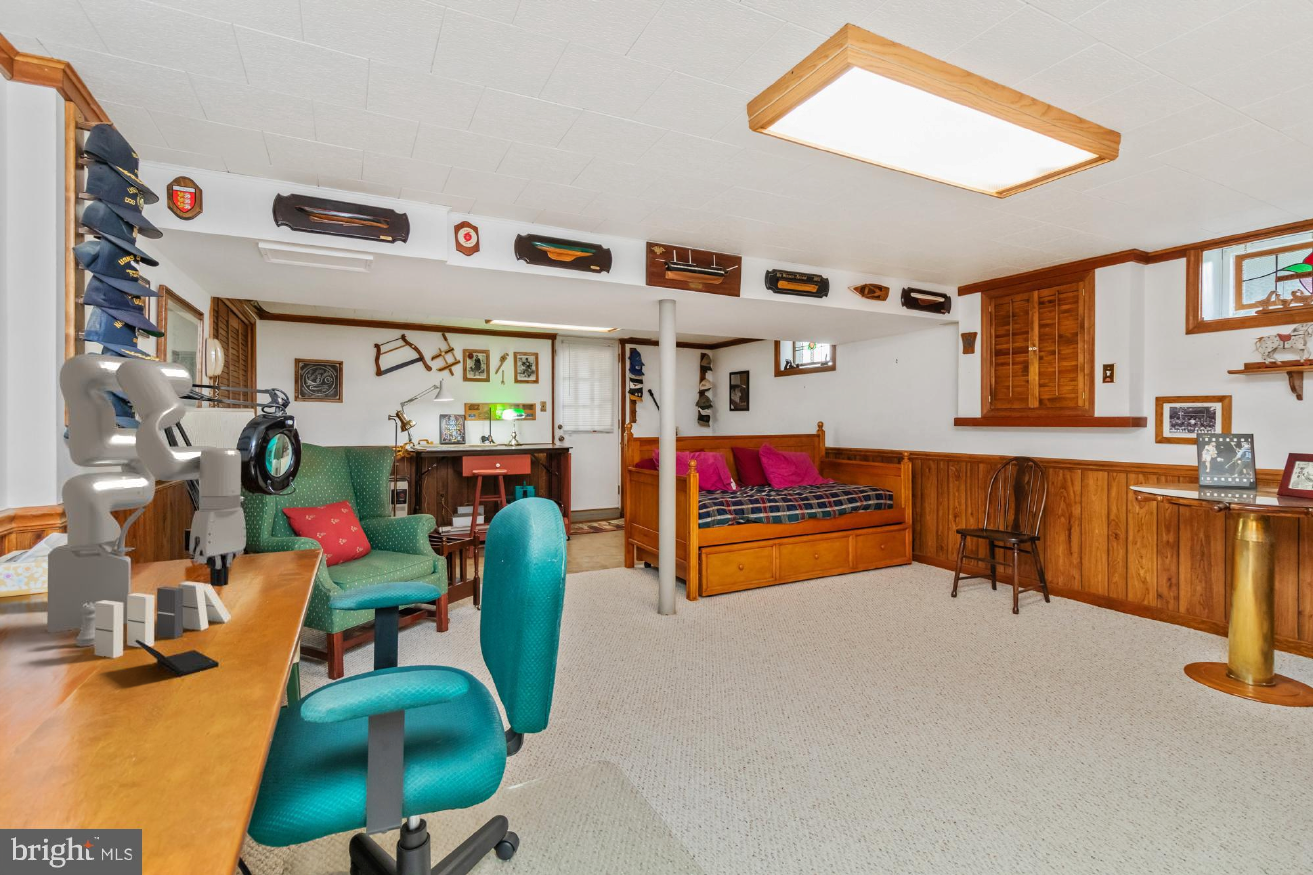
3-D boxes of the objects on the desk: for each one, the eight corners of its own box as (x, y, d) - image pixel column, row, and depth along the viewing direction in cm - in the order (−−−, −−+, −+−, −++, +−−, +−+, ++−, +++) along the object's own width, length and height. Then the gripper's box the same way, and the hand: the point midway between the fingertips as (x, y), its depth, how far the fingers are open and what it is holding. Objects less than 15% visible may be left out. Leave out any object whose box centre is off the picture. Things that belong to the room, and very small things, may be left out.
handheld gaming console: (230, 654, 113) (190, 620, 108) (199, 689, 108) (155, 656, 102) (194, 652, 118) (154, 620, 113) (162, 686, 112) (118, 654, 107)
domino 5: (214, 615, 138) (193, 582, 133) (231, 617, 136) (210, 584, 131) (208, 620, 136) (186, 587, 131) (225, 622, 135) (203, 589, 130)
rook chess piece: (87, 648, 118) (87, 607, 118) (69, 646, 119) (69, 605, 119) (111, 640, 123) (112, 601, 123) (94, 638, 124) (94, 599, 124)
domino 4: (191, 624, 133) (185, 580, 131) (208, 627, 131) (203, 583, 130) (183, 628, 131) (177, 583, 130) (201, 630, 130) (195, 585, 128)
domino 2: (135, 642, 122) (136, 592, 122) (154, 645, 121) (154, 595, 121) (126, 645, 121) (127, 594, 120) (145, 648, 119) (145, 597, 119)
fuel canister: (145, 615, 139) (146, 506, 139) (143, 620, 135) (144, 508, 135) (52, 627, 130) (52, 510, 130) (47, 633, 126) (48, 513, 126)
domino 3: (174, 638, 124) (175, 590, 124) (156, 636, 126) (157, 588, 126) (182, 636, 126) (183, 588, 126) (164, 633, 127) (165, 586, 127)
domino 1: (104, 651, 117) (104, 600, 117) (123, 655, 115) (123, 602, 115) (94, 654, 115) (94, 602, 115) (113, 658, 114) (113, 605, 114)
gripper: (238, 499, 144) (237, 576, 144) (172, 506, 130) (172, 592, 130) (263, 500, 142) (262, 578, 142) (199, 508, 128) (198, 595, 128)
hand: (219, 585), depth 136 cm, fingers closed
